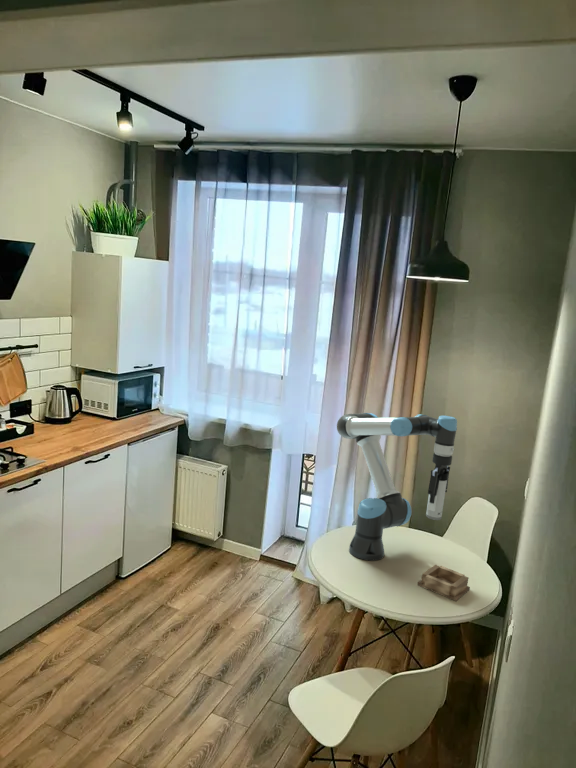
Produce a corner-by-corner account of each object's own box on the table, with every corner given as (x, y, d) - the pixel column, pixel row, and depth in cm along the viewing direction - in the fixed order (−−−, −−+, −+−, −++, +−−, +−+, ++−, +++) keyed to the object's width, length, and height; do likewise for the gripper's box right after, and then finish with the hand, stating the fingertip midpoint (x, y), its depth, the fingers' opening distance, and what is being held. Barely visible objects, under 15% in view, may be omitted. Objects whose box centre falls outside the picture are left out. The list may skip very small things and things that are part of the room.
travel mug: (442, 521, 232) (449, 474, 229) (426, 518, 233) (432, 471, 230) (441, 516, 238) (448, 469, 235) (425, 513, 239) (432, 467, 236)
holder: (417, 585, 224) (418, 573, 223) (432, 574, 235) (434, 562, 234) (455, 601, 214) (457, 589, 213) (470, 589, 225) (472, 577, 224)
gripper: (441, 459, 222) (433, 516, 225) (461, 453, 237) (453, 506, 240) (423, 455, 226) (416, 510, 230) (444, 448, 241) (436, 500, 245)
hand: (435, 508), depth 235 cm, fingers closed on travel mug, 6 cm apart
